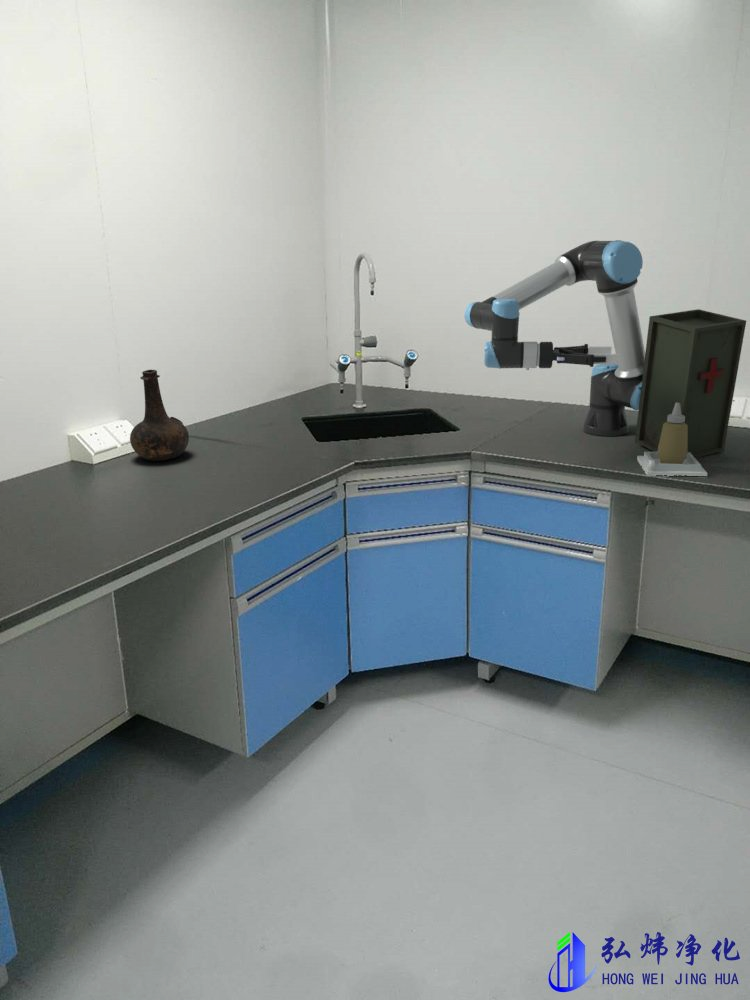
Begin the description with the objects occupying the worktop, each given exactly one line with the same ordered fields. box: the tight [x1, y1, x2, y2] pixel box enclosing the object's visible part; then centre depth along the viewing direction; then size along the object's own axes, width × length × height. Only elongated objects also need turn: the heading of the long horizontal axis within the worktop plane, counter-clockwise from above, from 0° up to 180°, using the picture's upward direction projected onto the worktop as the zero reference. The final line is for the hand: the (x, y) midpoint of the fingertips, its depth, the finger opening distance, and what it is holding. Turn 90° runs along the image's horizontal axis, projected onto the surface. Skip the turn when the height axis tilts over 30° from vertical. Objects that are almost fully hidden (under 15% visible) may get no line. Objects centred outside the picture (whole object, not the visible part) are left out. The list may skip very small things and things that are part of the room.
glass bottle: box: [129, 369, 190, 462], centre depth 237 cm, size 18×18×28 cm
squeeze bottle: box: [658, 403, 688, 464], centre depth 215 cm, size 8×8×18 cm
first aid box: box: [634, 308, 747, 458], centre depth 228 cm, size 18×18×40 cm
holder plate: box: [636, 451, 708, 477], centre depth 218 cm, size 16×16×4 cm
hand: (614, 355), depth 214 cm, fingers open, 13 cm apart
